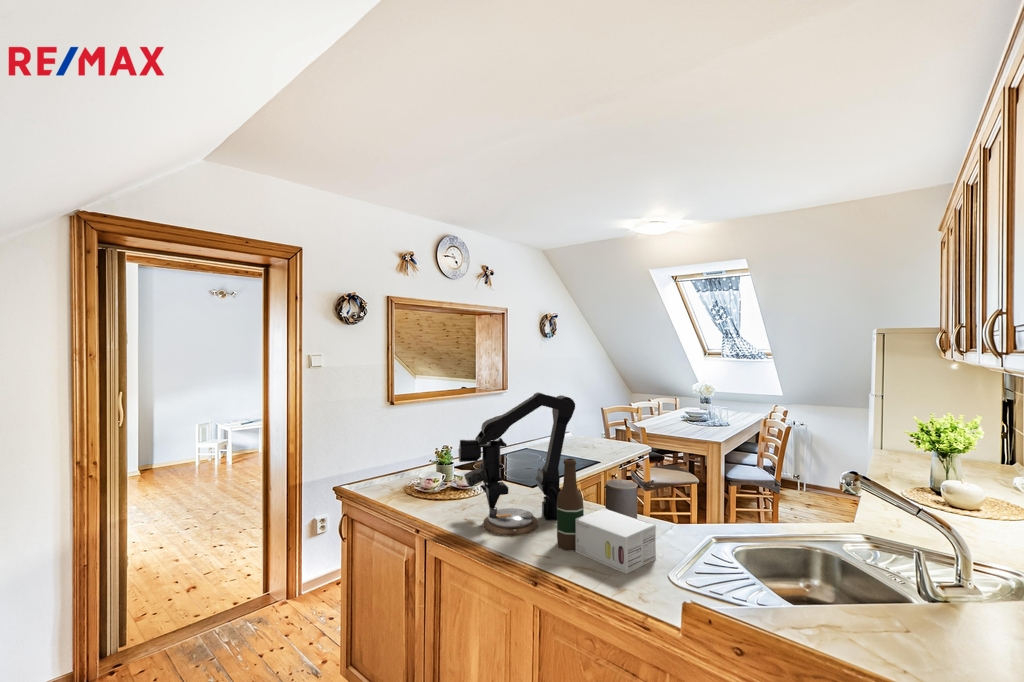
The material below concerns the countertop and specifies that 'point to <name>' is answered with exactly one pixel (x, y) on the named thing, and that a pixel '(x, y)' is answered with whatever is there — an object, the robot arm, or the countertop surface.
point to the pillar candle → (621, 497)
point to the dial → (509, 518)
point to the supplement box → (616, 540)
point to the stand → (511, 532)
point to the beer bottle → (568, 508)
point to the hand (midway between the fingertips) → (491, 509)
